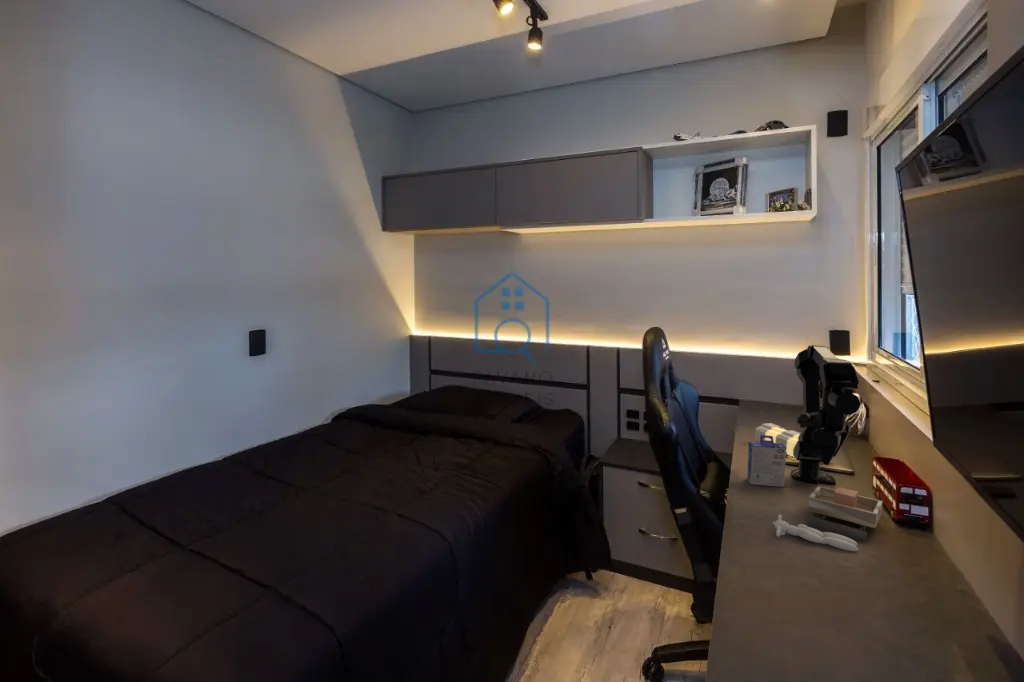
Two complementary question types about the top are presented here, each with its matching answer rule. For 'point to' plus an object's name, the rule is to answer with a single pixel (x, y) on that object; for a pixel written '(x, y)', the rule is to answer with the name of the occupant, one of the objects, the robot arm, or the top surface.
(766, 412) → the top surface
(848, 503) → the block
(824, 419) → the robot arm
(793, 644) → the top surface
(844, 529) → the framed panel
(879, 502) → the beige open rectangular box
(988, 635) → the top surface
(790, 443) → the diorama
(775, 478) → the ink cartridge box
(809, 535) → the decorative figure
